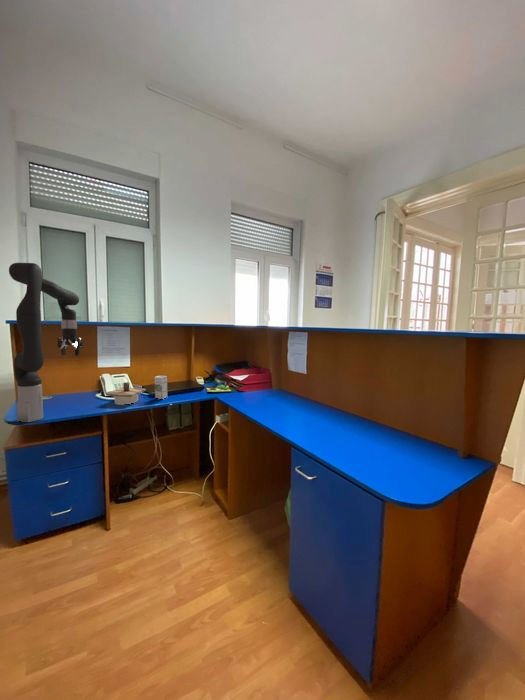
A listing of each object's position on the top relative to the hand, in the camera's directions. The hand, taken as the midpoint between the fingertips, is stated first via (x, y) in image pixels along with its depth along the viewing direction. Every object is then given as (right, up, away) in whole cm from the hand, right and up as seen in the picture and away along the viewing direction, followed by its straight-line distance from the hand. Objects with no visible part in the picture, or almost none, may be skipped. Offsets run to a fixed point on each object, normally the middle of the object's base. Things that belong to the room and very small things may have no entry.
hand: (70, 355), depth 172 cm
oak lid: (+30, -23, +6) cm, 38 cm away
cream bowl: (+30, -28, +6) cm, 42 cm away
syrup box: (+48, -28, +16) cm, 58 cm away
